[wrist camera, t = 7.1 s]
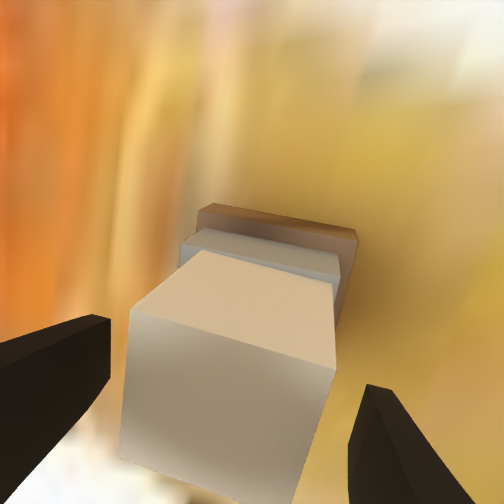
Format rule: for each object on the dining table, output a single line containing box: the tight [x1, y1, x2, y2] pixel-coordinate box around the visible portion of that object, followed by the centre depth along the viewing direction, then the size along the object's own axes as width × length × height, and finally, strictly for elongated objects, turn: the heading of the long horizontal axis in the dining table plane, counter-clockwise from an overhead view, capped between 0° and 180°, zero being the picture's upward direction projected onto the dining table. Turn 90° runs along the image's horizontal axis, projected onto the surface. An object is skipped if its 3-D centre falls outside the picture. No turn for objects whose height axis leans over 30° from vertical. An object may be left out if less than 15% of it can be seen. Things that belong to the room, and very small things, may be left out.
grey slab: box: [179, 227, 341, 306], centre depth 13 cm, size 6×6×2 cm
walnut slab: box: [196, 203, 359, 330], centre depth 15 cm, size 6×6×2 cm
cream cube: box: [118, 250, 337, 504], centre depth 10 cm, size 4×4×4 cm
